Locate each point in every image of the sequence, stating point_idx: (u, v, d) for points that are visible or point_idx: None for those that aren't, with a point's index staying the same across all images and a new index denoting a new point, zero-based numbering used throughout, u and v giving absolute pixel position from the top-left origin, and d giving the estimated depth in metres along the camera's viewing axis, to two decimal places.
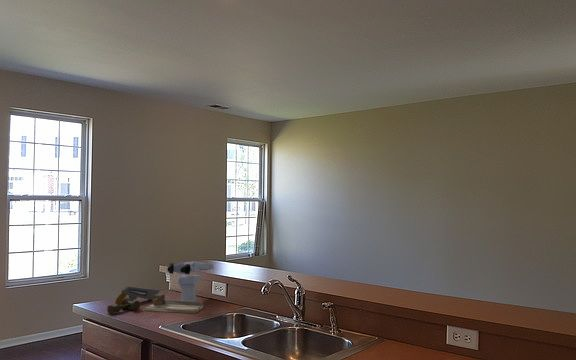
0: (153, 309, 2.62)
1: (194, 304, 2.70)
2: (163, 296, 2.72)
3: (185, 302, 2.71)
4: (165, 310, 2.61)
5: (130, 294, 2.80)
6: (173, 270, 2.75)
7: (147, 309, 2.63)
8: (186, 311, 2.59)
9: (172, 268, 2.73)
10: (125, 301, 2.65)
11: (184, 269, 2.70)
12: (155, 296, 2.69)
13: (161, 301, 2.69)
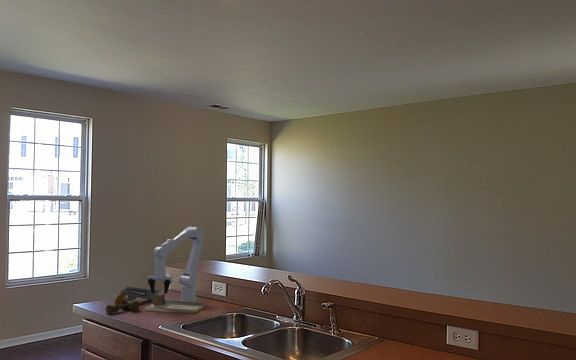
0: (153, 309, 2.62)
1: (194, 304, 2.70)
2: (163, 296, 2.72)
3: (185, 302, 2.71)
4: (165, 310, 2.61)
5: (129, 294, 2.79)
6: None
7: (147, 309, 2.63)
8: (186, 311, 2.59)
9: (153, 283, 2.72)
10: (125, 301, 2.66)
11: (166, 287, 2.70)
12: (155, 296, 2.69)
13: (161, 301, 2.69)
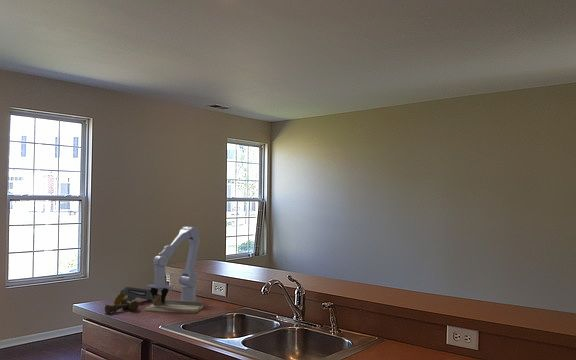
0: (153, 309, 2.62)
1: (194, 304, 2.70)
2: None
3: (185, 302, 2.71)
4: (165, 310, 2.61)
5: (129, 294, 2.79)
6: (156, 288, 2.73)
7: (147, 309, 2.63)
8: (186, 311, 2.59)
9: (155, 292, 2.72)
10: (124, 301, 2.66)
11: (164, 296, 2.71)
12: (155, 296, 2.69)
13: (161, 301, 2.69)
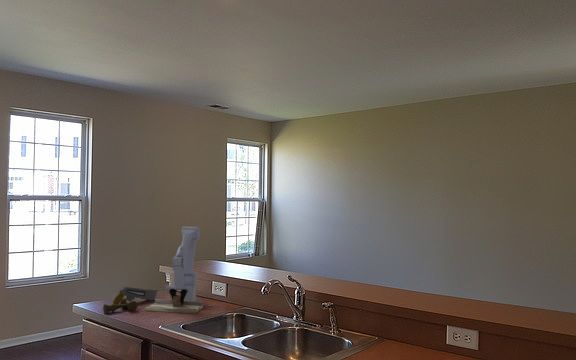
0: (153, 309, 2.62)
1: (194, 304, 2.70)
2: None
3: (185, 302, 2.71)
4: (165, 310, 2.61)
5: (128, 294, 2.79)
6: (175, 289, 2.71)
7: (147, 309, 2.63)
8: (186, 311, 2.59)
9: (174, 293, 2.69)
10: (124, 301, 2.66)
11: (183, 297, 2.69)
12: (174, 297, 2.67)
13: (180, 302, 2.67)
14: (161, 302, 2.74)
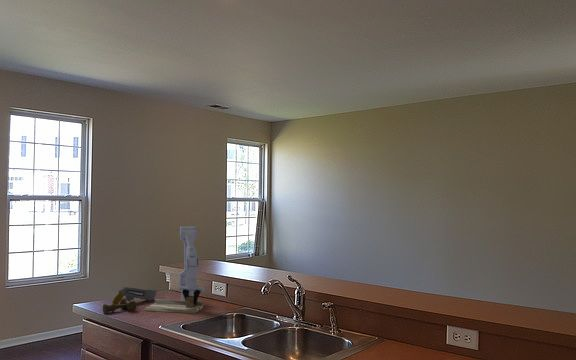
0: (153, 309, 2.62)
1: None
2: None
3: None
4: (165, 310, 2.61)
5: (127, 294, 2.78)
6: (188, 290, 2.69)
7: (147, 309, 2.63)
8: (186, 311, 2.59)
9: (187, 293, 2.68)
10: (124, 301, 2.66)
11: (196, 298, 2.67)
12: (187, 298, 2.65)
13: (193, 302, 2.66)
14: (161, 302, 2.74)
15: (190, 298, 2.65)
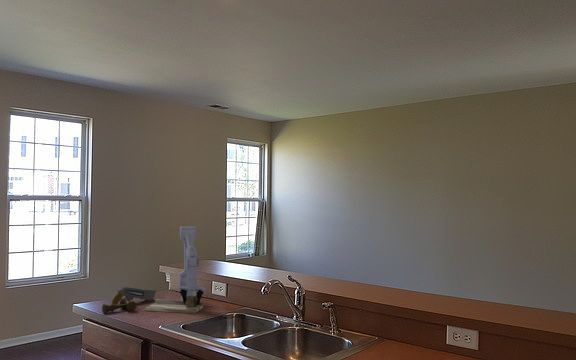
0: (153, 309, 2.62)
1: None
2: (195, 298, 2.68)
3: None
4: (165, 310, 2.61)
5: (127, 295, 2.78)
6: (186, 290, 2.70)
7: (147, 309, 2.63)
8: (186, 311, 2.59)
9: (185, 293, 2.68)
10: (123, 301, 2.66)
11: (199, 298, 2.67)
12: (188, 298, 2.65)
13: (194, 302, 2.66)
14: (161, 302, 2.74)
15: (190, 298, 2.65)
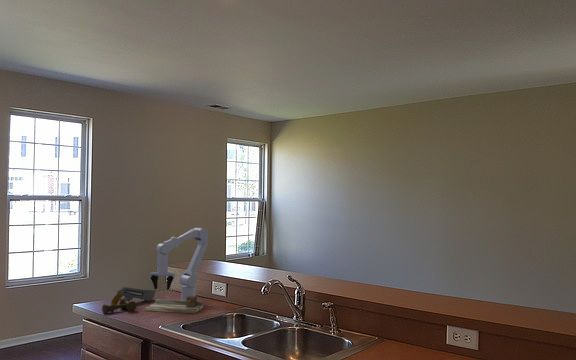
0: (153, 309, 2.62)
1: None
2: (195, 298, 2.68)
3: None
4: (165, 310, 2.61)
5: (126, 295, 2.78)
6: (157, 276, 2.77)
7: (147, 309, 2.63)
8: (186, 311, 2.59)
9: (156, 279, 2.75)
10: (123, 301, 2.65)
11: (169, 283, 2.74)
12: (188, 298, 2.65)
13: (194, 302, 2.66)
14: (161, 302, 2.74)
15: (190, 298, 2.65)
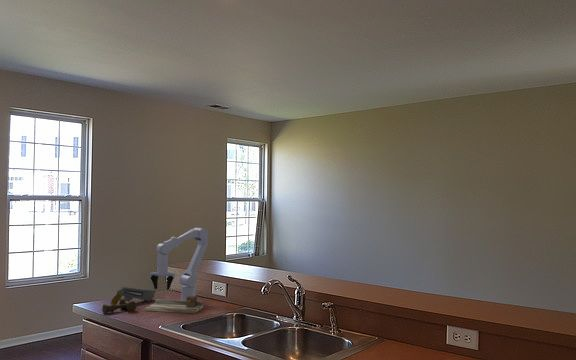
0: (153, 309, 2.62)
1: None
2: (195, 298, 2.68)
3: None
4: (165, 310, 2.61)
5: (126, 295, 2.78)
6: (157, 276, 2.77)
7: (147, 309, 2.63)
8: (186, 311, 2.59)
9: (156, 279, 2.75)
10: (123, 301, 2.65)
11: (169, 283, 2.74)
12: (188, 298, 2.65)
13: (194, 302, 2.66)
14: (161, 302, 2.74)
15: (190, 298, 2.65)
